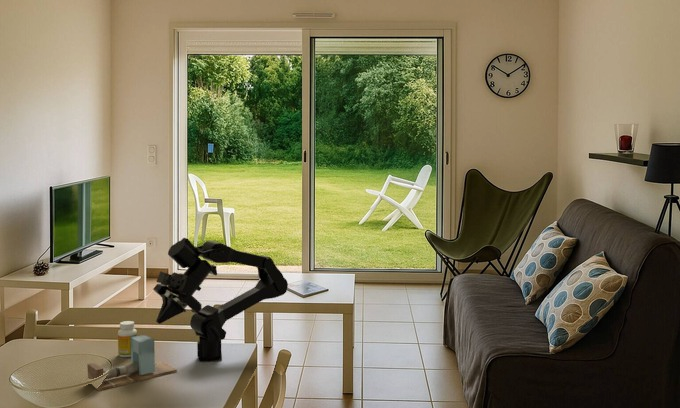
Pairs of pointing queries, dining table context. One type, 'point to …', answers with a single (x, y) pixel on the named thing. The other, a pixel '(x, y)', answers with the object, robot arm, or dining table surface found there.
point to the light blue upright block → (143, 353)
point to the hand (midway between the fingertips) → (157, 322)
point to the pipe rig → (125, 374)
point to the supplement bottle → (125, 338)
